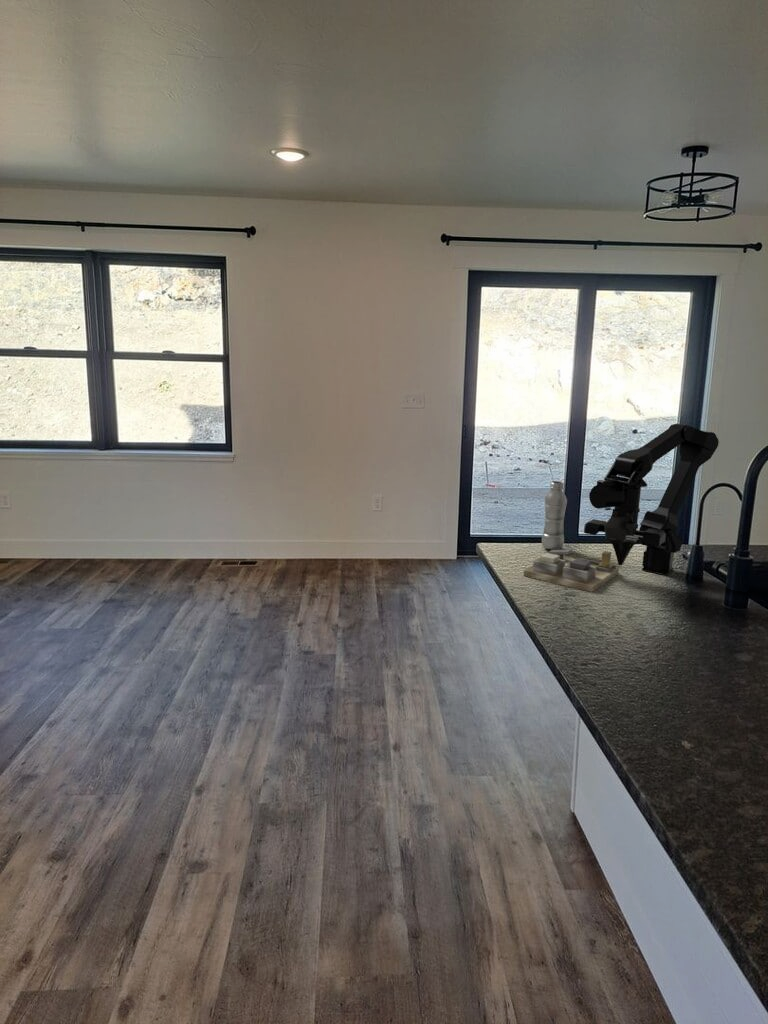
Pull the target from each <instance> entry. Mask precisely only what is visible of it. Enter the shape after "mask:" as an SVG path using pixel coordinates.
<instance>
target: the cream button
mask: <svg viewBox="0 0 768 1024" xmlns="http://www.w3.org/2000/svg"><path fill="white" fill-rule="evenodd" d="M539 558H540V561H541V562H546V563H550V564H555V563H557V562H559V558H560V556H559V555H554V554H549V553H548V552H546V553H544V554H542V555H541V554H540V557H539Z"/></svg>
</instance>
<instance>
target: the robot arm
mask: <svg viewBox="0 0 768 1024" xmlns="http://www.w3.org/2000/svg"><path fill="white" fill-rule="evenodd" d="M719 444H720V442H719V439H718V437H717V434H715V433H714V432H712V431H704V430H701V429H699V428H695V427H693V426H691V425H689V424H682V423H673V424H670V425H669V427H668V428H667V429H666V430H664V431H663V432H661V433H660V434H658V435H657V436H656V437H655V438H652V439H651V440H650V441H649V442H647V443H645V444H644V445H642V446H641V447H639V448H635V449H630V450H627V451H624V452H622V453H619V454H618V455H617V456H616V458H615V460H614V462H613V463H612V465H611V467H610V468H609V469H608V472H607V473H606V475H605V476H604V479H602V480H601V479H599V480H597V481H596V485H594V486H593V487H591V490H590V492H589V496H588V497H589V498H588V499H589V501H590V504H591V505H592V507H594V508H595V509H597V510H601V509H608V508H613V509H612V511H611V512H612V513H611V516H610V518H609V519H608V520H600V519H594V518H593V519H592V520H588V521H587V522H586V523H585V524H584V528H583V534H588V535H592V536H596V535H597V534H598V533H601V532H602V533H604V537H605V540H606V541H609V542H610V543H611V545H612V547H613V549H614V553H615V556H616V560H617V564H618V565H619V566H622V565H624V564H625V561H626V560H627V558H628V556H629V553H630V551H631V550H632V549H633V547H634V546H635V545H637V544H638V543H641V544H640V545H641V546H645V547H646V548H645V551H643V556H642V557H643V558H642V564H641V565H642V568H641V570H642V571H643V572H644V571H645V572H649V573H656V574H660V575H664V576H668V575H669V574H670V573H672V572H673V571H674V570H675V568H674V567H673V563H674V554H677V552H680V550H681V548H682V545H683V543H682V541H681V540H680V538H679V536H678V535H677V531H678V528H679V526H678V519H677V516H678V513H679V510H680V509H681V506H682V504H683V502H684V501H685V498H686V496H687V494H688V491H689V490H690V488H691V486H692V484H693V481H694V479H695V477H696V475H697V473H698V471H699V468H700V467H701V466H702V465H704V464H705V463H706V462H708V461H709V460H710V459H711V458H712V456H713V455H714V454H715V452H716V450H717V449H718V447H719ZM677 447H678V451H679V452H678V453H679V458H680V459H679V462H678V464H677V465H676V468H675V470H674V472H673V475H672V476H671V479H670V481H668V484H667V487H666V489H665V491H664V494H663V495H662V497H661V500H660V502H659V503H658V505H657V508H656V509H654V510H653V511H650V510H647V511H646V512H645V513H644V516H643V518H642V520H641V521H640V523H639V524H638V520H639V513H640V509H641V508H640V499H641V492H642V488H646V487H648V483H647V482H646V481H645V480H644V479H643V478H645V477H646V476H647V475H648V474H650V472H651V471H652V470H653V466H654V464H655V463H656V462H657V461H659V460H660V459H661V458H662V457H664V456H665V455H667V454H668V453H670V452H671V451H672V450H674V449H675V448H677ZM639 525H640V526H639ZM638 528H639V529H638ZM637 529H638V530H637ZM672 570H673V571H672Z"/></svg>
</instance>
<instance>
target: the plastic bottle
mask: <svg viewBox="0 0 768 1024" xmlns="http://www.w3.org/2000/svg"><path fill="white" fill-rule="evenodd" d="M564 484H565V483H564V482H563V481H556V480H555V481H553V480H552V481H551V482H550V486H549V488H550V491H548V493H547V494H546V495H545V497H544V510H545V511H544V512H545V514H544V515H545V519H544V520H545V521H544V528H543V533H542V535H541V536H542V537H541V546H542V548H544V549H545V550H550V551H551V550H562V548H564V547H563V546H564V544H565V535H564V521H565V515H566V514H565V513H566V508H567V504H568V498H567V496H566V494H565V492H564V491H563V490H564V489H565V488H564Z"/></svg>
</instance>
